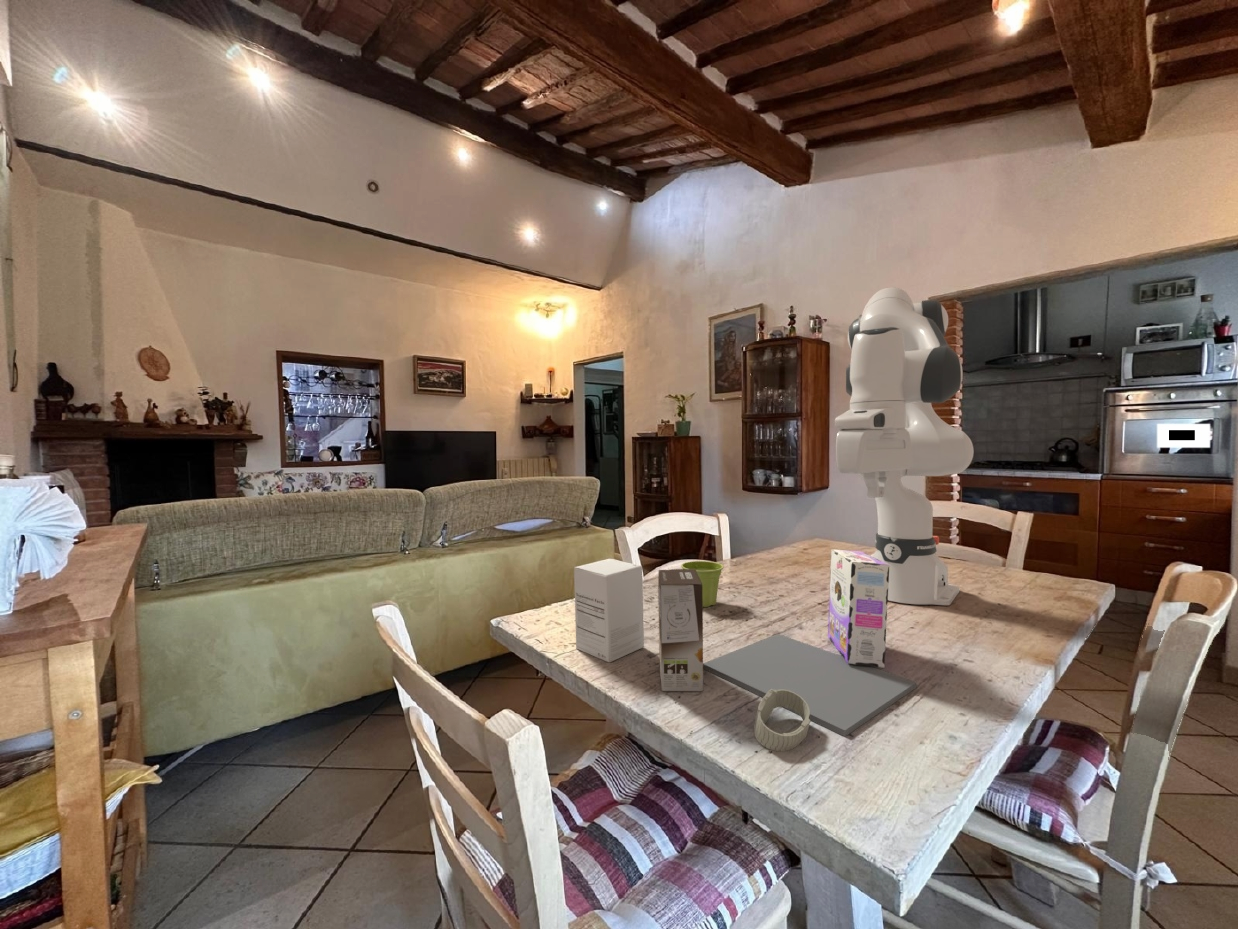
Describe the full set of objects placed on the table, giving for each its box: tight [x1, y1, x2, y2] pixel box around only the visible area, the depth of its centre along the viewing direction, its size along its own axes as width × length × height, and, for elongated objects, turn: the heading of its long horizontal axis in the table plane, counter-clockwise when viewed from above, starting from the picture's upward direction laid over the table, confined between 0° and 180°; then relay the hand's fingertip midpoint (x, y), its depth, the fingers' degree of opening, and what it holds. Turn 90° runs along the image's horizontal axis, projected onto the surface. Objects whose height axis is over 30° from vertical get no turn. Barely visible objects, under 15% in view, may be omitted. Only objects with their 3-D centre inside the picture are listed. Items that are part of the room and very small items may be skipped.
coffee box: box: [657, 568, 704, 692], centre depth 78 cm, size 9×6×16 cm
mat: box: [703, 633, 918, 738], centre depth 78 cm, size 20×24×1 cm
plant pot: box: [680, 560, 724, 608], centre depth 114 cm, size 9×9×9 cm
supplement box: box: [573, 558, 645, 663], centre depth 90 cm, size 9×9×15 cm
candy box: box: [827, 548, 889, 669], centre depth 86 cm, size 14×6×16 cm, turn 170°
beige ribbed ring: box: [753, 689, 811, 752], centre depth 63 cm, size 9×6×5 cm
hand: (876, 497), depth 90 cm, fingers closed
